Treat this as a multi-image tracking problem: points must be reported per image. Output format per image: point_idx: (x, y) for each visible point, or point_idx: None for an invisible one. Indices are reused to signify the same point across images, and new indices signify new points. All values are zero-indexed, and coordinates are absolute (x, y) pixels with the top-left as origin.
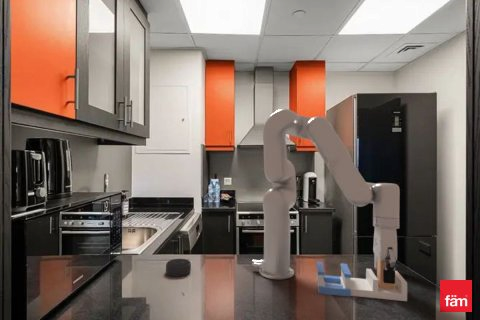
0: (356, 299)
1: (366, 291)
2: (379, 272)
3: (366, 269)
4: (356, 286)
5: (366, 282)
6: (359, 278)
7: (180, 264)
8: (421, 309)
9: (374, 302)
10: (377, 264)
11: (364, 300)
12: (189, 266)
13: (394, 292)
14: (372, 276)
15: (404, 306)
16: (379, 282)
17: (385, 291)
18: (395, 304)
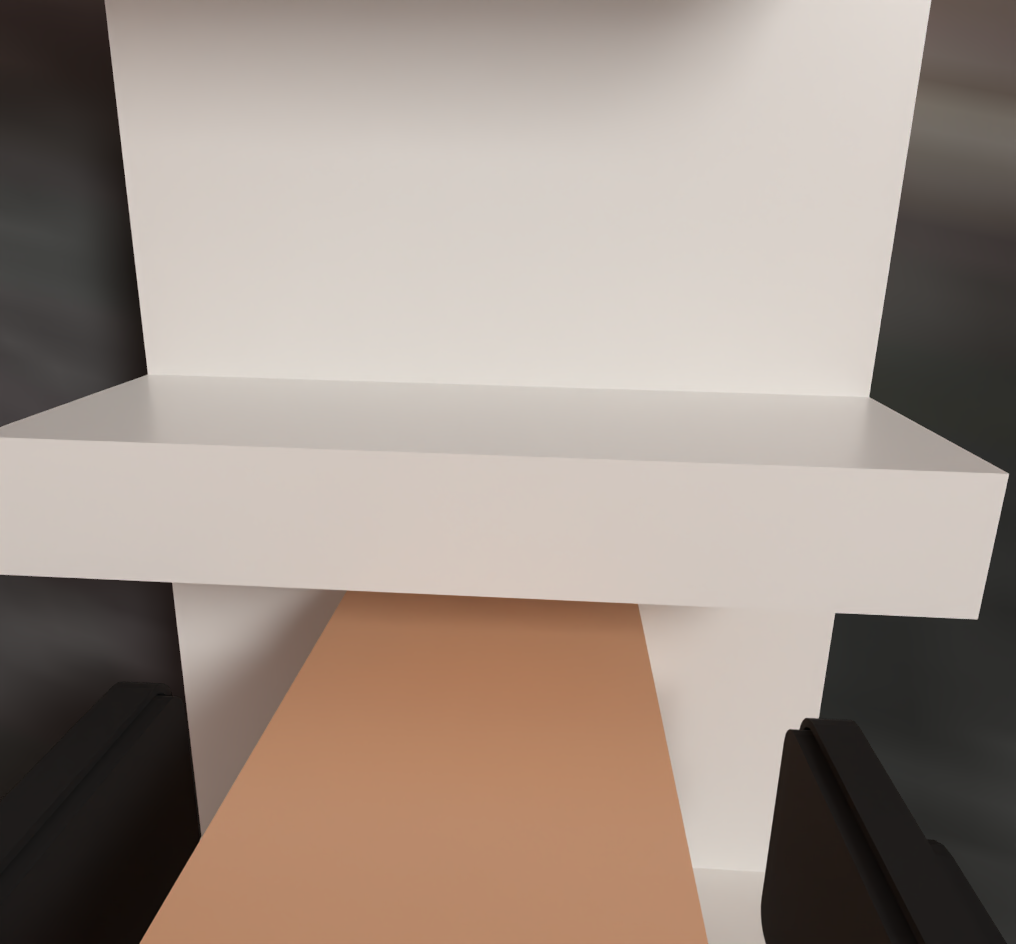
0: (25, 7)
1: (140, 239)
2: (357, 757)
3: (944, 467)
4: (305, 37)
5: (631, 353)
6: (887, 234)
7: None
8: None
9: (26, 334)
10: (656, 922)
11: (41, 167)
12: None
13: (228, 749)
14: (245, 487)
15: (62, 734)
16: (402, 608)
17: (220, 613)
18: (82, 638)
